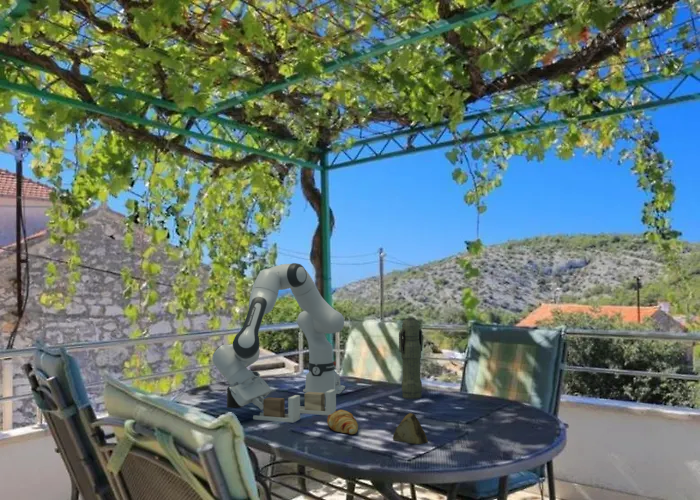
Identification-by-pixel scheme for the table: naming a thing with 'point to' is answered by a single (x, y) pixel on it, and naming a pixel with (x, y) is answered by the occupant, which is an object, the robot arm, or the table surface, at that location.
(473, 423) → the table surface
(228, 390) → the supplement bottle
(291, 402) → the grey l-shaped bracket
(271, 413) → the brown wooden block
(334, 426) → the croissant
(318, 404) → the tan wooden block
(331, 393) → the white l-shaped piece
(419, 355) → the thermos
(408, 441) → the rock
